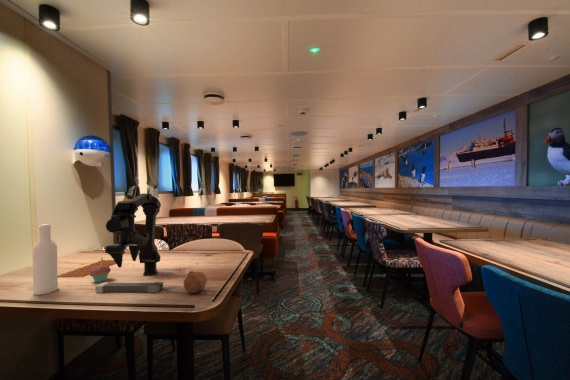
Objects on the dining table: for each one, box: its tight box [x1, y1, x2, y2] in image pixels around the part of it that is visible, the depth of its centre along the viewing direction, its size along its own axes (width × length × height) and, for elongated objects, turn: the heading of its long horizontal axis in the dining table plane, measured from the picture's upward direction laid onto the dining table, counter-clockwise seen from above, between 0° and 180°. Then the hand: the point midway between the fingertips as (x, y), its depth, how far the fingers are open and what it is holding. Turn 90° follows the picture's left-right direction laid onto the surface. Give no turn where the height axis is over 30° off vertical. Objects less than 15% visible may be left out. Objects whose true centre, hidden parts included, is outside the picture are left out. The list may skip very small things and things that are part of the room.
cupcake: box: [89, 257, 112, 283], centre depth 121 cm, size 9×8×12 cm
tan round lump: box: [183, 270, 208, 294], centre depth 105 cm, size 10×9×10 cm
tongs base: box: [94, 281, 161, 294], centre depth 107 cm, size 28×5×3 cm, turn 88°
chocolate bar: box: [57, 259, 124, 279], centre depth 141 cm, size 14×30×1 cm, turn 177°
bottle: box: [32, 223, 59, 296], centre depth 108 cm, size 8×8×30 cm
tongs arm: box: [109, 281, 164, 291], centre depth 109 cm, size 24×2×3 cm, turn 88°
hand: (127, 264), depth 108 cm, fingers open, 9 cm apart
